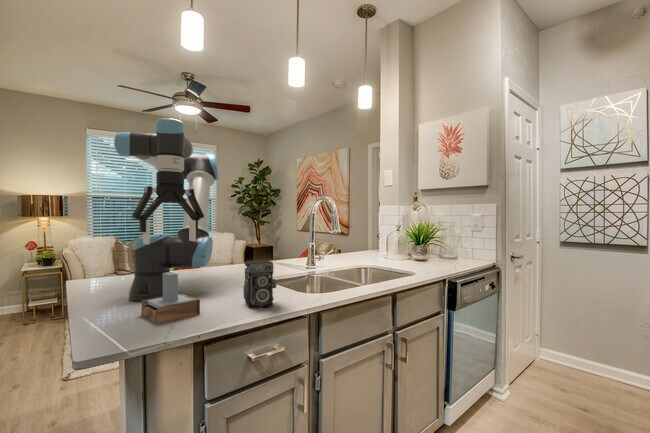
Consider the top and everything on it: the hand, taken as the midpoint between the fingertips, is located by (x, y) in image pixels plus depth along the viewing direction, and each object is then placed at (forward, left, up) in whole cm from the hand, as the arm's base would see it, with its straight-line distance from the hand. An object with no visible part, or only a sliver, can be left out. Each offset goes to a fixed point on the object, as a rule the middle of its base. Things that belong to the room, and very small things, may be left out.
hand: (170, 242), depth 96 cm
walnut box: (0, 0, -22) cm, 22 cm away
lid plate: (0, 0, -18) cm, 18 cm away
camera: (+12, +24, -23) cm, 35 cm away
